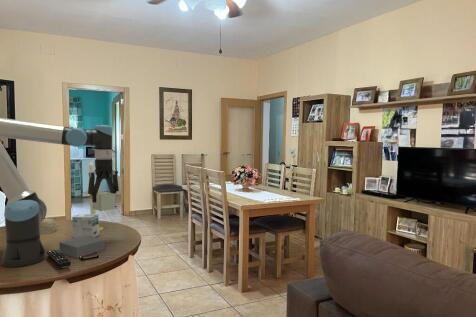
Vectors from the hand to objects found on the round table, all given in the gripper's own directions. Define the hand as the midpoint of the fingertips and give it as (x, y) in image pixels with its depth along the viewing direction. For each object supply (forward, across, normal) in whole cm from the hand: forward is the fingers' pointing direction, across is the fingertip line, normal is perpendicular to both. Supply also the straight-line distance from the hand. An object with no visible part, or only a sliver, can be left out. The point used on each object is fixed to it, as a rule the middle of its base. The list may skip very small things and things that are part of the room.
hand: (103, 208), depth 163 cm
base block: (+17, -12, -3) cm, 21 cm away
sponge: (+17, -6, +42) cm, 46 cm away
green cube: (0, 0, 0) cm, 0 cm away
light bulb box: (+17, +1, +17) cm, 24 cm away
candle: (+17, +10, +26) cm, 33 cm away
